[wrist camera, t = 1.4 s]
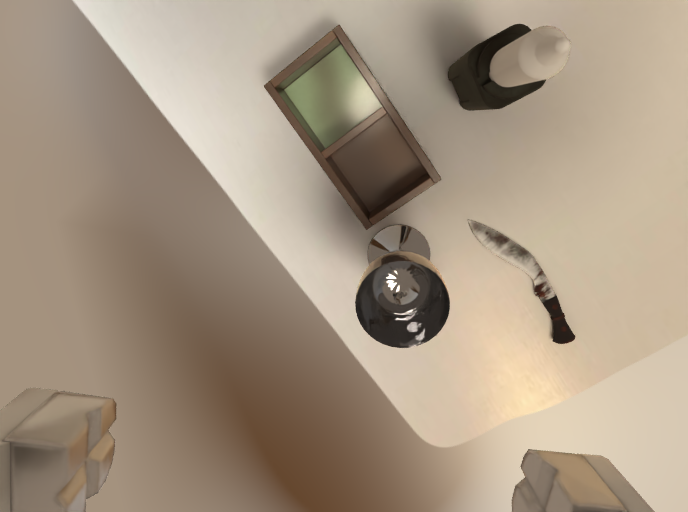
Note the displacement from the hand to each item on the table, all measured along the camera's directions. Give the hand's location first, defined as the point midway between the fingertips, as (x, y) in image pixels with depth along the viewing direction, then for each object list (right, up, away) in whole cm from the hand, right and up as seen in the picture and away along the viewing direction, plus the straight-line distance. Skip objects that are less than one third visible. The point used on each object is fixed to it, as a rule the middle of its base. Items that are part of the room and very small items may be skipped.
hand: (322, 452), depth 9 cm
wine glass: (+7, +4, +45) cm, 46 cm away
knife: (+21, +1, +44) cm, 49 cm away
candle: (+14, +22, +39) cm, 47 cm away
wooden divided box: (+2, +17, +41) cm, 45 cm away
